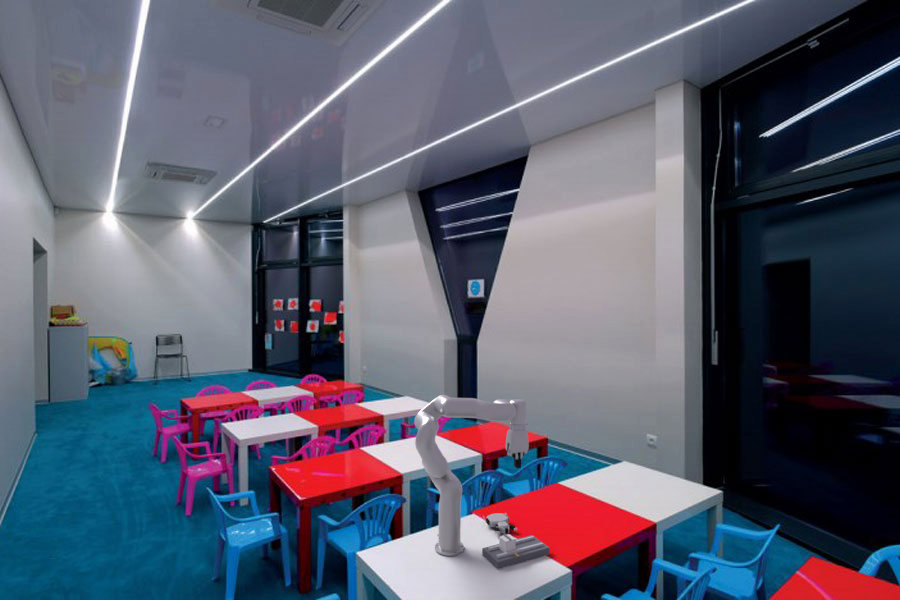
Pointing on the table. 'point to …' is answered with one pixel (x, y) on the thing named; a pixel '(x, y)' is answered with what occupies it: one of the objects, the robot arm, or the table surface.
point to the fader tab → (507, 543)
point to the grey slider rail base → (516, 552)
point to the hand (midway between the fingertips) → (517, 467)
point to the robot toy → (499, 523)
